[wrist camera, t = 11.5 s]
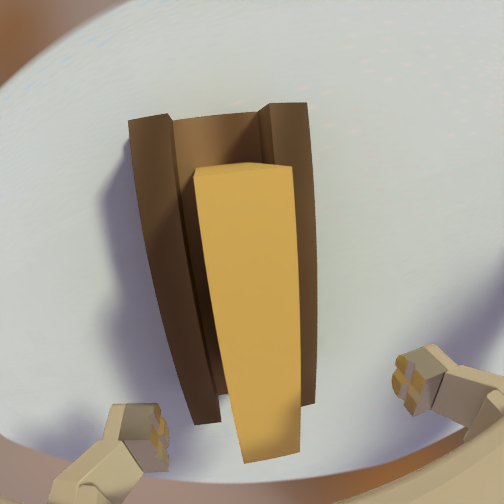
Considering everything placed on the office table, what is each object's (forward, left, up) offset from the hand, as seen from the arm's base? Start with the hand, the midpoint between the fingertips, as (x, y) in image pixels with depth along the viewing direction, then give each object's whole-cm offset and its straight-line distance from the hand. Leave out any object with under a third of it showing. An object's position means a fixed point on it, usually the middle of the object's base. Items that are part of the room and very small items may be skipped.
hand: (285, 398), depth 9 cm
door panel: (0, 0, -11) cm, 11 cm away
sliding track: (0, 0, -12) cm, 12 cm away
